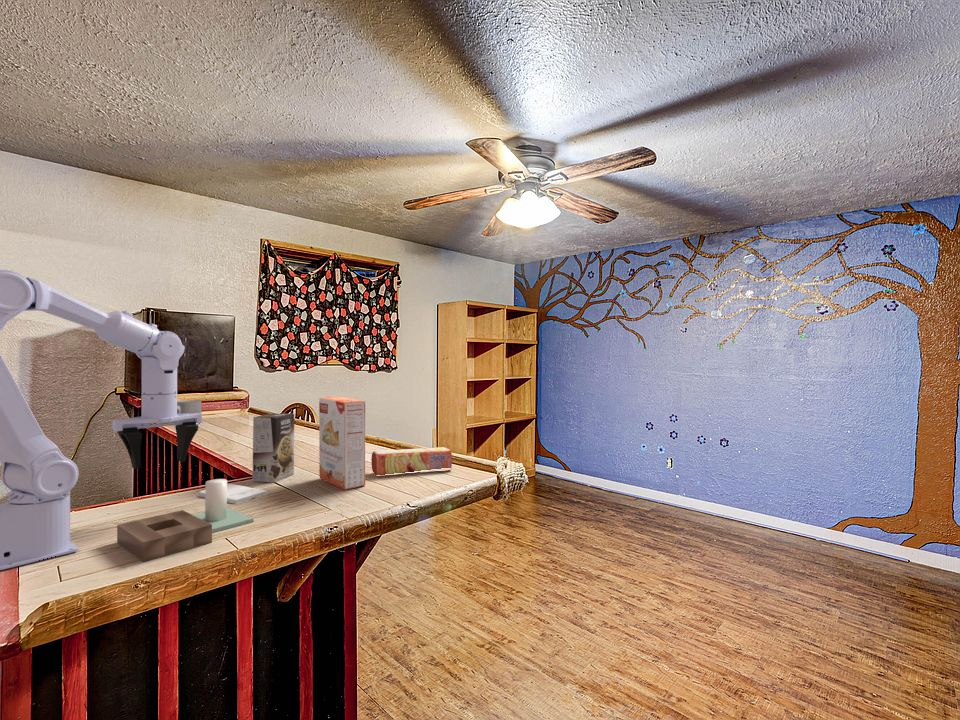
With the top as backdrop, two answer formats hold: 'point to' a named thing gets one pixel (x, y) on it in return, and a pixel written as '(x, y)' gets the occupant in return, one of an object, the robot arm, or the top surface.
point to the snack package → (410, 460)
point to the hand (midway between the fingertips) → (159, 464)
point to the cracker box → (342, 441)
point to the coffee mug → (188, 406)
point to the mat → (227, 520)
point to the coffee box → (273, 447)
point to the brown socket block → (163, 535)
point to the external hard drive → (239, 493)
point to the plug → (216, 500)
